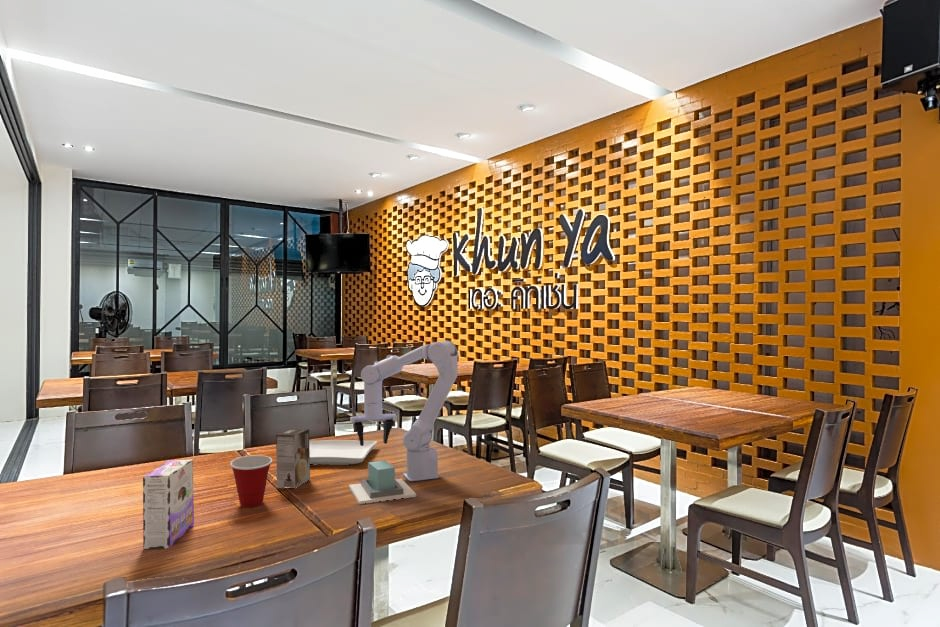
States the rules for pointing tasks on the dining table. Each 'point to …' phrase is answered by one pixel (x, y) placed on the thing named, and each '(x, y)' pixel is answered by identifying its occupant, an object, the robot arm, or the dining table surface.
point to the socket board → (380, 492)
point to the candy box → (167, 504)
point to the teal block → (381, 475)
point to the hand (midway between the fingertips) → (373, 444)
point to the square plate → (339, 451)
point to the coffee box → (292, 458)
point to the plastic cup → (251, 478)
